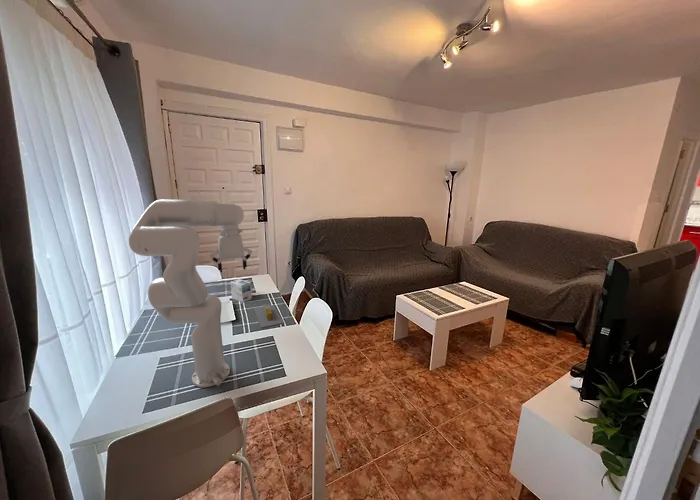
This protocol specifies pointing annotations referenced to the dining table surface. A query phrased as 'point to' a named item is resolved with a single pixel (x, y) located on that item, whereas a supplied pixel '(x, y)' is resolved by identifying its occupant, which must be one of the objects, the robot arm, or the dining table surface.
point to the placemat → (263, 319)
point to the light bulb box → (241, 290)
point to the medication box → (267, 312)
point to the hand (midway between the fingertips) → (232, 270)
